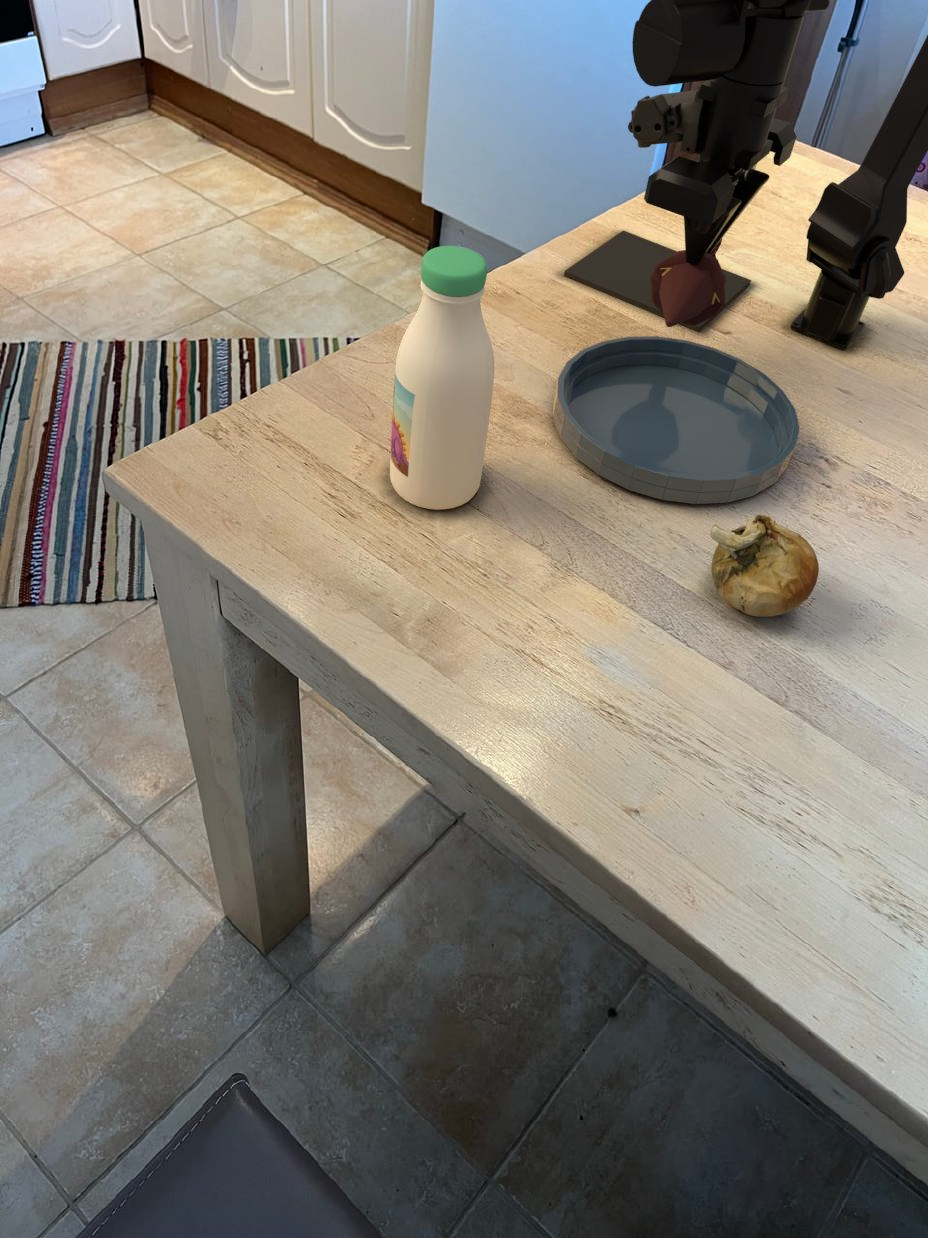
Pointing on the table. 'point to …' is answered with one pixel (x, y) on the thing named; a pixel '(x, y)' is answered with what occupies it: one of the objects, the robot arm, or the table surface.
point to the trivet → (636, 272)
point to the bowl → (674, 419)
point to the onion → (763, 567)
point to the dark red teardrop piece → (688, 288)
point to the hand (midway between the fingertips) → (698, 257)
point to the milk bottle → (443, 385)
